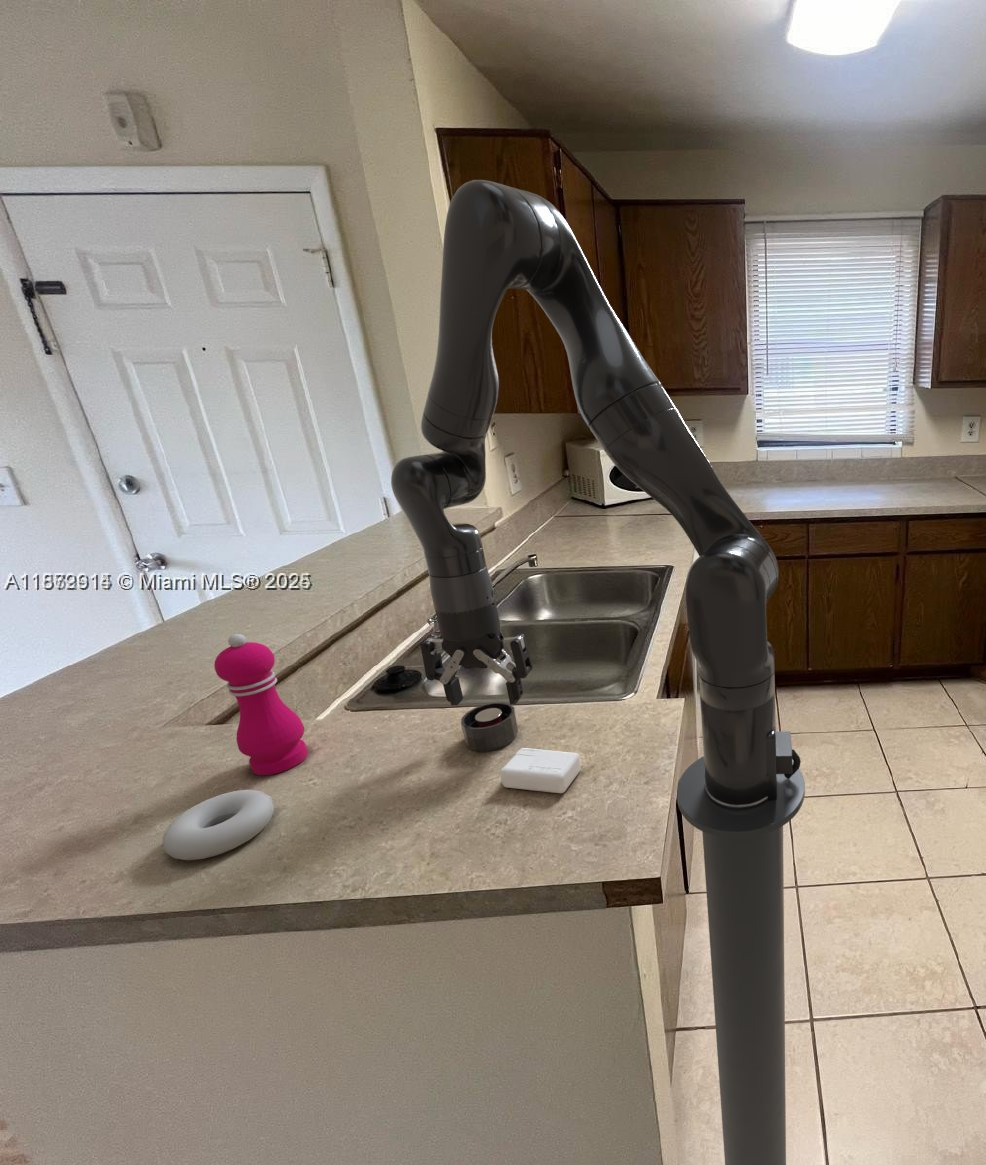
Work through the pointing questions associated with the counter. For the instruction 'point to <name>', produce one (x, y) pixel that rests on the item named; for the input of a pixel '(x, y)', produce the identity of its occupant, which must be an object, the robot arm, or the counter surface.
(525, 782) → the soap
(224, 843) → the donut
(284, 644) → the counter surface
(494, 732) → the bowl
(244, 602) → the counter surface
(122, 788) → the counter surface
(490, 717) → the pod
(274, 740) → the pepper mill
